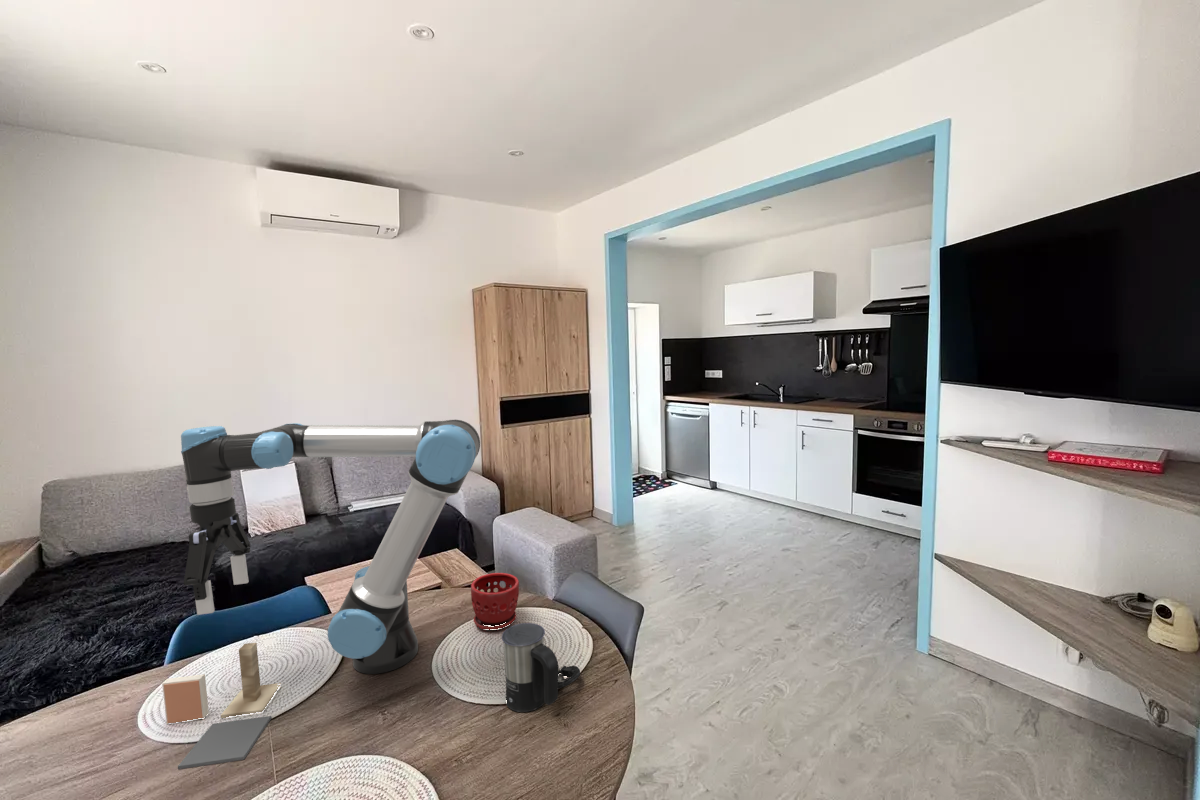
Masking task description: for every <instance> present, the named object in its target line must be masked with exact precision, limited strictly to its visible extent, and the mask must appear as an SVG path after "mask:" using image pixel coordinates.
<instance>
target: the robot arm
mask: <svg viewBox="0 0 1200 800" xmlns="http://www.w3.org/2000/svg"><path fill="white" fill-rule="evenodd" d="M180 441H181V442H180V443H181V451H180V452H181V455H182V461H183V466H184V472H185V478H186V479H185V480H186V491H187V497H188V502H189V503H190V506H189V513H190V520H191V522H192V523H193V524H196V525H198V526H199V530H198V531H197V532H191V533H189V534H188V542H189V543H188V544H189V546H188V551H187V552H188V553H187V558H186V565H185V573H184V579H183V585H184V586H192V587H193V594H194V599H195V606H196V607H195V608H196V614H197V616H199V615H200V616H201V615H207V614H214V612H215V611H216V610H215V604H214V597H213V589H212V583H211V579H210V580H209V579H208V578H209V575H210V570H211V568H212V565H213V561H214V558H215V553H216V552H217V551H216V550H218V549H219V548H220V545H221V544H223V545H224V547H226V548H227V550H228V551H229V553H231V556H230V566H231V573H232V574H231V575H232V581H233V585H234V586H235V585H236V586H237V585H243V584H248V583H249V575H248V566H247V558H246V556H247V555H246V554H249V553H250V552H251V541H249V538H248V535H247V534H246V531H245V530H244V527H243V525H242V522H241V521H240V515H239V513H238V512H237V509H236V502H235V498H234V497H233V496H234V494H235V493H234V485H233V477H232V472H234V471H244V470H245V471H247V470H259V469H260V470H261V469H266V470H271V469H274V468H280V467H285V466H287V465H288V464H289V463H290V462H291V460H292V459H293V458H319V457H320V458H327V457H328V458H329V457H330V458H331V457H332V458H334V457H335V458H338V457H339V458H340V457H345V458H346V457H349V458H350V457H351V458H353V457H355V458H356V457H357V458H359V457H362V458H363V457H366V458H367V457H368V458H369V457H370V458H371V457H373V458H374V457H375V458H376V457H380V458H381V457H386V458H387V457H388V458H392V457H394V458H395V457H398V458H399V457H406V458H408V457H411V458H412V457H413V458H414V460H413V461H412V463H411V466H410V468H409V469H408V472H407V473H408V477H409V478H410V484H409V486H408V488H407V489H406V492H405V494H404V495H403V498H402V500H401V502H400V504H399V506H398V508H397V510H396V512H395V514H394V515H393V518H392V520H391V522H390V524H389V525H388V528H387V530H386V532H385V534H384V536H383V538H382V540H381V543H380V544H379V546H378V548H377V550H376V553H375V554H374V556H373V558H372V559H371V562H370V564H369V565H367V566H365V567H362V568H360V569H359V570H357V571H356V572H355V574H354V580H353V583H352V585H351V587H350V588H349V590H348V592H347V594H346V595H345V598H344V600H343V602H342V604H341V606H340V608H339V609H338V611H337V613H335V615H333V617H332V618H331V620H330V623H329V624H328V628H327V639H328V642H329V644H330V646H331V648H332V649H333V650H334V651H335V652H336V653H337V654H339V655H340V656H343V657H345V658H347V659H348V658H349V659H352V666H353V669H354V670H356V671H357V672H358V673H361V674H366V675H375V674H376V675H377V674H383V673H389V672H391V671H395V670H397V669H399V668H401V667H403V666H404V665H407V664H408V663H410V661H412V660H413V659H414V658H415V657H416V656H417V654H418V651H419V643H418V641H419V640H418V637H417V635H416V633H415V631H414V629H413V626H412V624H411V621H410V613H409V599H408V598H409V597H408V596H409V595H408V583H407V582H408V581H407V580H408V579H409V577H410V575H411V572H412V571H413V568H414V566H415V564H416V562H417V560H418V558H419V556H420V554H421V553H422V550H423V548H424V547H425V545H426V542H427V540H428V538H429V536H430V535H431V532H432V531H433V528H434V526H435V524H436V522H437V520H438V518H439V516H440V514H441V512H442V511H443V508H444V506H445V504H446V503H447V499H448V498H450V497H451V496H454V495H457V494H458V493H459V491H460V489H461V488H462V485H463V483H464V481H465V480H466V477H467V476H468V474H469V472H470V470H471V469H472V467H473V465H474V464H475V460H476V458H477V456H478V454H479V452H480V448H481V441H480V436H479V433H478V432H477V430H476V428H475V427H474V426H473V425H471V424H470V423H469V422H467V421H464V420H461V419H447V420H446V419H445V420H435V421H425V420H424V421H423V422H422V423H420V425H367V424H366V425H364V424H363V425H349V424H348V425H345V424H344V425H338V424H337V425H336V424H335V425H332V424H331V425H329V424H328V425H327V424H326V425H325V424H324V425H322V424H321V425H319V424H318V425H313V424H311V425H305V424H301V423H286V424H283V425H279V426H276V427H273V428H270V429H266V430H262V431H258V432H254V433H245V434H235V435H234V434H231V435H230V434H228V432H227V430H226V427H224V426H222V425H215V426H214V425H213V426H212V425H210V426H201V427H193V428H189V429H186V430H184V431H183V432H182V433H181V435H180Z"/></svg>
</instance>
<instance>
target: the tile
mask: <svg viewBox="0 0 1200 800" xmlns="http://www.w3.org/2000/svg"><path fill="white" fill-rule="evenodd" d="M162 693H163V702H164V713H165V714H164V715H165V720H166V722H165V723H166V725H167V724H168V723H175V724H177V723H176V722H182V721H187V720H193V719H198V718H204V717H205V716H206V715H207V714H208V713H209V714H210V711H209V702H208V692H207V682H206V674H203V673H202V674H196V675H195V674H194V675H188V676H180V677H178V676H177V677H170V678H167V679H166V680H165V681H163V682H162ZM182 723H183V722H182ZM168 725H169V724H168Z"/></svg>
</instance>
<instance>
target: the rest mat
mask: <svg viewBox="0 0 1200 800" xmlns="http://www.w3.org/2000/svg"><path fill="white" fill-rule="evenodd" d="M271 720H272V715H267V716H261V717H260V716H259V717H258V716H257V717H252V718H245V719H238V720H230V721H223V722H217V723H216V722H215V723H212V724H211V725H210V726H209V727H208V728H207V730H206V731H205V732H204V733H203V735H202V736H201V737H200V739H199V740H198V741H197V742H196V743H195V745H194V746H193V747H192V748H191V750H190V751H189V752H188V753H187V754H186V755H185V757H184V758H183V759H182V761H180V762H179V765H177V769H178V770H183V769H189V768H197V767H202V766H203V767H204V766H210V765H216V764H217V765H218V764H222V763H223V764H224V763H229V762H236V761H237V762H239V761H243V760H245V759H246V757H247V756H248V755H249V753H250V752H251V750H252V748H253V747H254V746H255V745H256V743H257V741H258V740H259V738H260V736H261V735H262V733H263V731H264V730H265V729H266V727H267V726H268V725H269V723H270V721H271Z"/></svg>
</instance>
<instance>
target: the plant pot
mask: <svg viewBox="0 0 1200 800" xmlns="http://www.w3.org/2000/svg"><path fill="white" fill-rule="evenodd" d="M501 582H504V583H505V587H502V586H501V584H500V583H501ZM488 583H489V585H488V586H487V584H488ZM495 583H496V584H495ZM519 583H520V581H519V579H518V577H517V576H515V575H513V574H510V573H505V572H492V573H487V574H483V575H480V576H478V577H476V578H475V579H474V580H473V581H472V583H471V584H470V598H471V604H472V609H473V612H474V617H473V623H474V625H475V626H476V627H477V628H478V627H479V629H480V628H481V629H480V630H482V629H489V630H490V629H498V628H503V627H505V626H507V625H509V624H511V623H512V622H513V621H514V620H516V619H517V612H516V609H517V606H518V602H519V594H520V584H519ZM495 589H497V591H494V590H495ZM481 590H482V591H481ZM488 591H489V592H488ZM505 622H506V623H505ZM514 622H515V621H514ZM514 622H513V623H514ZM503 623H505V624H503ZM513 623H512V624H513ZM483 624H484V625H491V626H494V627H488V626H484V625H483ZM500 624H503V625H500ZM512 624H511V625H512ZM495 625H499V626H495Z"/></svg>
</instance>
